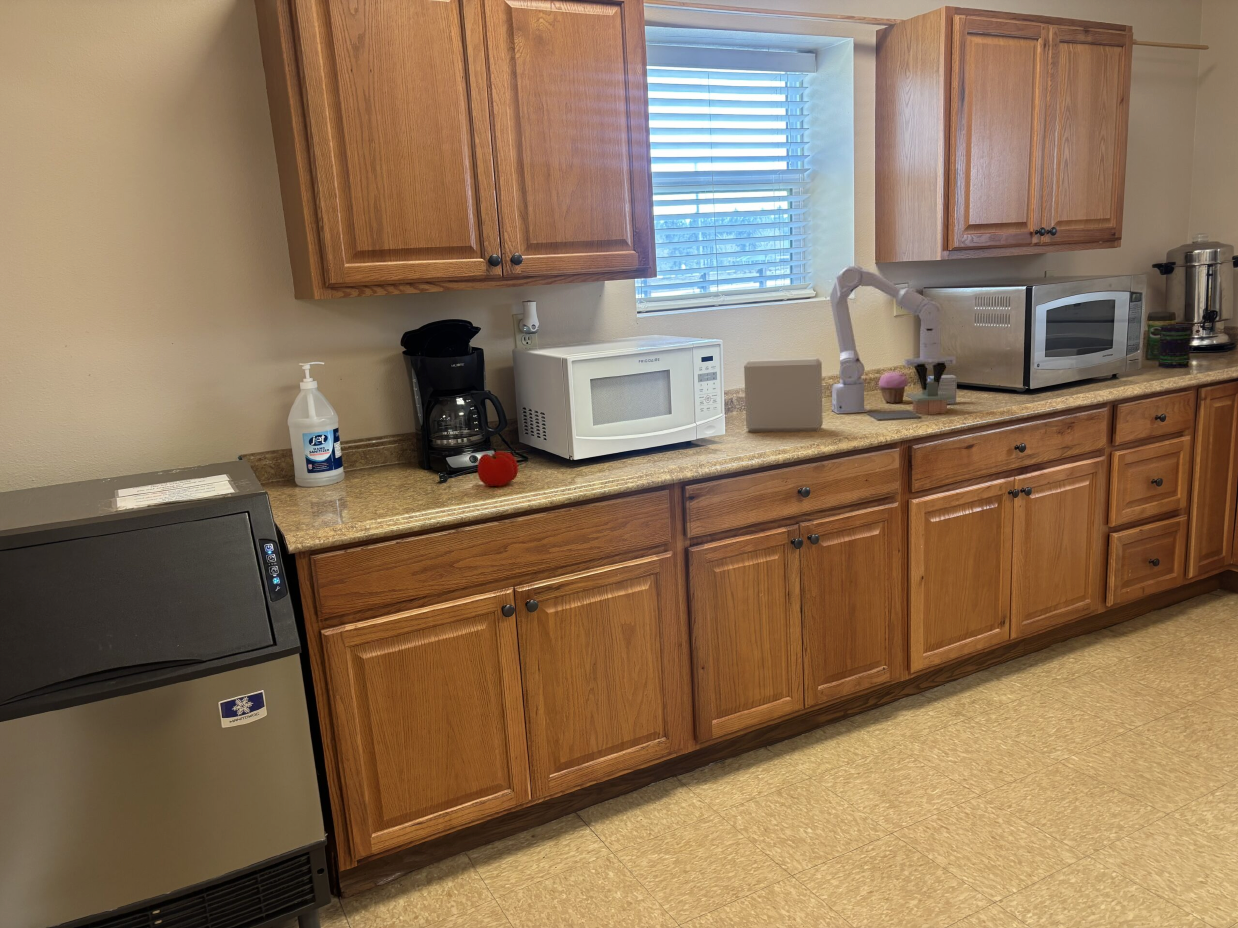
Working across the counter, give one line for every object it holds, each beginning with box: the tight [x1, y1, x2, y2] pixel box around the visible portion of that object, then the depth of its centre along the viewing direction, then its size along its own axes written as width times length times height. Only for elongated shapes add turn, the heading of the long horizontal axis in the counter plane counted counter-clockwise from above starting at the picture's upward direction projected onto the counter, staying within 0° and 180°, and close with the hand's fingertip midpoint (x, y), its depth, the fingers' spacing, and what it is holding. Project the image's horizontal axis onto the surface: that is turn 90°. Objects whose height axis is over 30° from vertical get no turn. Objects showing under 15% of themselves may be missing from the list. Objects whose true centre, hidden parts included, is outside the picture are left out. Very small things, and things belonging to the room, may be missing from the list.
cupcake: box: [878, 371, 909, 404], centre depth 290 cm, size 9×9×10 cm
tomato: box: [477, 450, 519, 487], centre depth 211 cm, size 9×9×8 cm
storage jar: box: [1157, 324, 1192, 369], centre depth 327 cm, size 10×10×15 cm
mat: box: [866, 409, 922, 422], centre depth 266 cm, size 12×12×1 cm
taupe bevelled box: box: [743, 357, 824, 433], centre depth 254 cm, size 21×8×20 cm, turn 73°
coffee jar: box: [1144, 310, 1177, 361], centre depth 349 cm, size 10×8×19 cm
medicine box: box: [927, 374, 958, 405], centre depth 282 cm, size 8×4×9 cm, turn 84°
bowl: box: [912, 399, 948, 415], centre depth 270 cm, size 9×9×4 cm
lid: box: [905, 380, 955, 401], centre depth 268 cm, size 11×11×5 cm
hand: (929, 389), depth 269 cm, fingers closed on lid, 3 cm apart
